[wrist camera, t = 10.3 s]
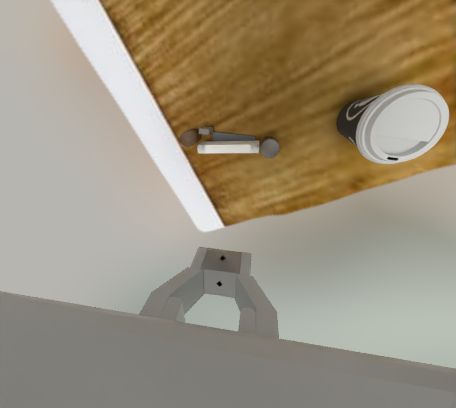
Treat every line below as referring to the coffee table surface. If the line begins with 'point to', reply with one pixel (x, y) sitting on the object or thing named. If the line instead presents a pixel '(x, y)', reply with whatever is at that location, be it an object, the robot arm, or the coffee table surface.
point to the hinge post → (269, 147)
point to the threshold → (231, 137)
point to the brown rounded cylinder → (194, 135)
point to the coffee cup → (395, 123)
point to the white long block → (228, 147)
